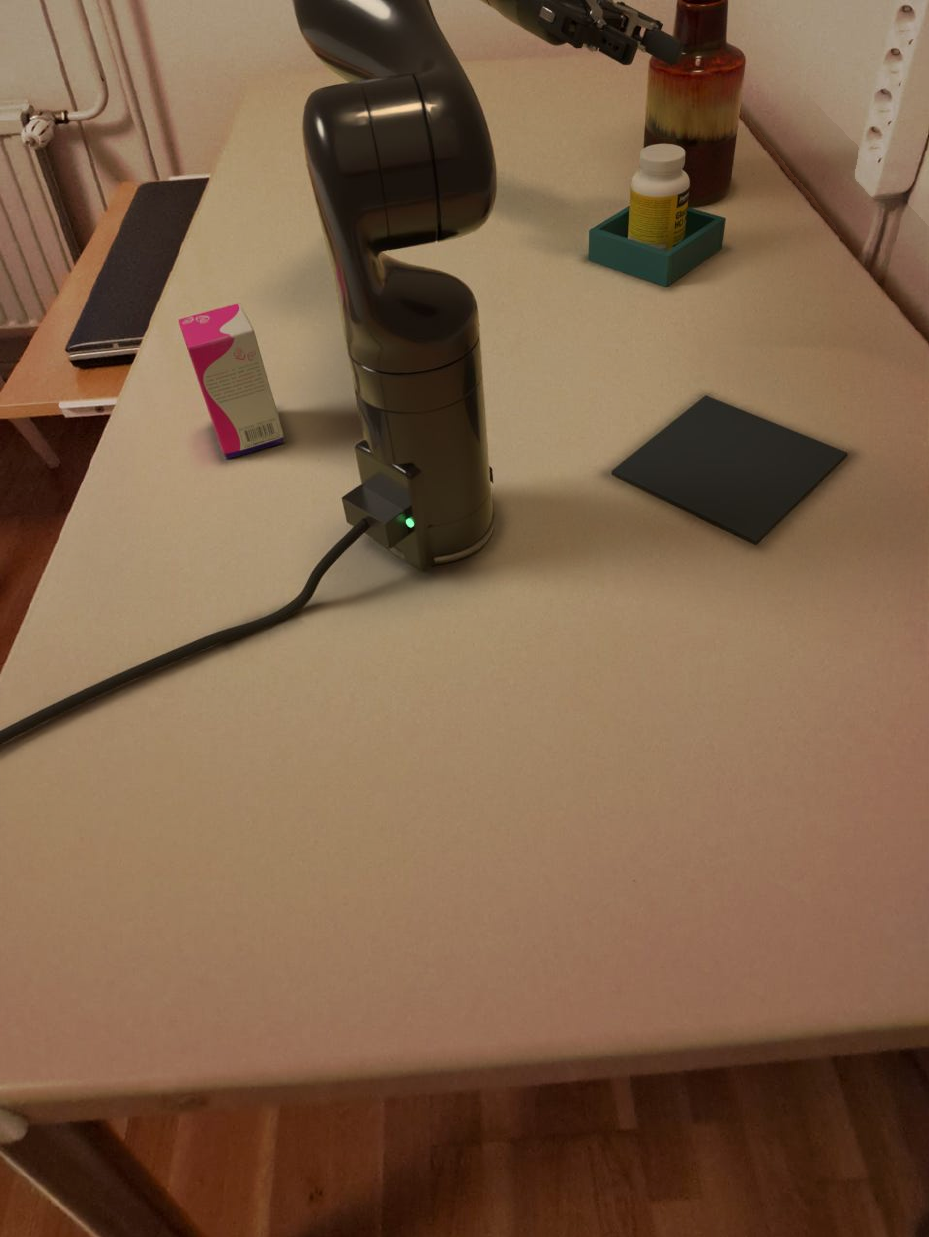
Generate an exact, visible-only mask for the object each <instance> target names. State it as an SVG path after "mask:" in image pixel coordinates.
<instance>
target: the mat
mask: <svg viewBox="0 0 929 1237" xmlns="http://www.w3.org/2000/svg"><path fill="white" fill-rule="evenodd" d="M847 457H848V452H847V451H844V450H842V449H840V448H837V447H835V446H833V445H830V444H827V443H824V442H823V441H820V440H818V439H815V438H813V437H811V436H808V435H805V434H803V433H800V432H798V431H795V430H792V429H791V428H788V427H785V426H783V425H781V424H778V423H776V422H773V421H770V420H769V419H766V418H763V417H762V416H758V415H756V414H753V413H751V412H748V411H746V410H743V409H741V408H738V407H736V406H734V405H731V404H728V403H726V402H724V401H721V400H719V399H716V398H714V397H711V396H709V395H707V394H706V395H704V396H702V397H701V398H700V399H699V400H697V401H696V402H694V404H693V405H691V406H690V407H689V408H688V409H686V410H685V411H684V412H683V413H682V414H680V415H679V416H678V417H677V418H675V419H674V420H673V421H672V422H670V423H669V424H668V425H667V426H665V427H664V428H663V429H662V430H660V431H659V432H658V433H657V434H656V435H654V436H653V437H652V438H650V439H649V440H648V441H647V442H645V444H643V445H642V446H640V447H639V448H638V449H636V451H634V452H633V453H632V454H631V455H629V456H628V457H626V459H625V460H623V461H622V462H621V463H620V464H618V465H617V466H615V468H613V469H612V470H611V473H610V474H611V475H612V476H614V477H616V478H618V479H620V480H622V481H624V482H626V483H628V484H631V485H632V486H634V487H636V488H638V489H640V490H642V491H645V492H646V493H649V494H651V495H652V496H655V497H657V498H659V499H661V500H663V501H665V502H668V503H669V504H672V505H674V506H675V507H678V508H680V509H682V510H684V511H686V512H688V513H689V514H692V515H694V516H696V517H698V518H701V519H703V520H704V521H706V522H709V523H711V524H713V525H714V526H717V527H719V528H721V529H723V530H725V531H727V532H729V533H731V534H733V535H735V536H738V537H740V538H742V539H744V540H746V541H748V542H750V543H751V544H754V545H757V544H759V543H760V542H761V541H762V540H763V539H764V538H765V536H767V534H769V533H770V532H771V531H772V530H773V529H774V528H775V527H776V526H777V525H778V524H779V523H780V522H781V521H782V520H783V519H784V518H785V517H786V516H787V515H788V514H789V513H790V512H791V511H792V510H793V509H795V508H796V506H798V505H799V503H800V502H802V501H803V499H804V498H806V497H807V496H808V495H809V494H810V493H811V492H812V491H813V490H814V488H816V487H817V486H818V485H819V484H820V483H821V482H822V481H823V480H824V479H825V478H826V477H827V476H828V475H829V474H830V473H831V472H832V471H833V470H834V469H836V467H837V466H838V465H840V464H841V463H842V462H843V461H844V460H845V459H846V458H847Z"/></svg>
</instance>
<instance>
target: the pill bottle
mask: <svg viewBox="0 0 929 1237" xmlns="http://www.w3.org/2000/svg"><path fill="white" fill-rule="evenodd" d="M638 159H639V160H638V167H639V170H637V171H636V172H635V174H634V175H633V176H632V178H631V180H630V190H629V206H630V211H629V228H628V239H631V240H634V241H637V242H640V243H643V244H647V245H650V246H653V247H656V248H659V249H662V250H665V251H668V250H670V249H671V248H673V247H674V246H676V245H677V244H679V243H680V242H682V241H683V240H684V237H685V227H686V216H687V206H688V197H689V188H690V180H689V177H688V175H687V173H686V172H685V171H684V170H682V168H683V167H684V164H685V150H684V149H683V148H682V147H680V146H677V145H672V144H656V145H651V146H648V147H645V148H644V149H643V148H642V149H641V150H640V151H639V158H638Z"/></svg>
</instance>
